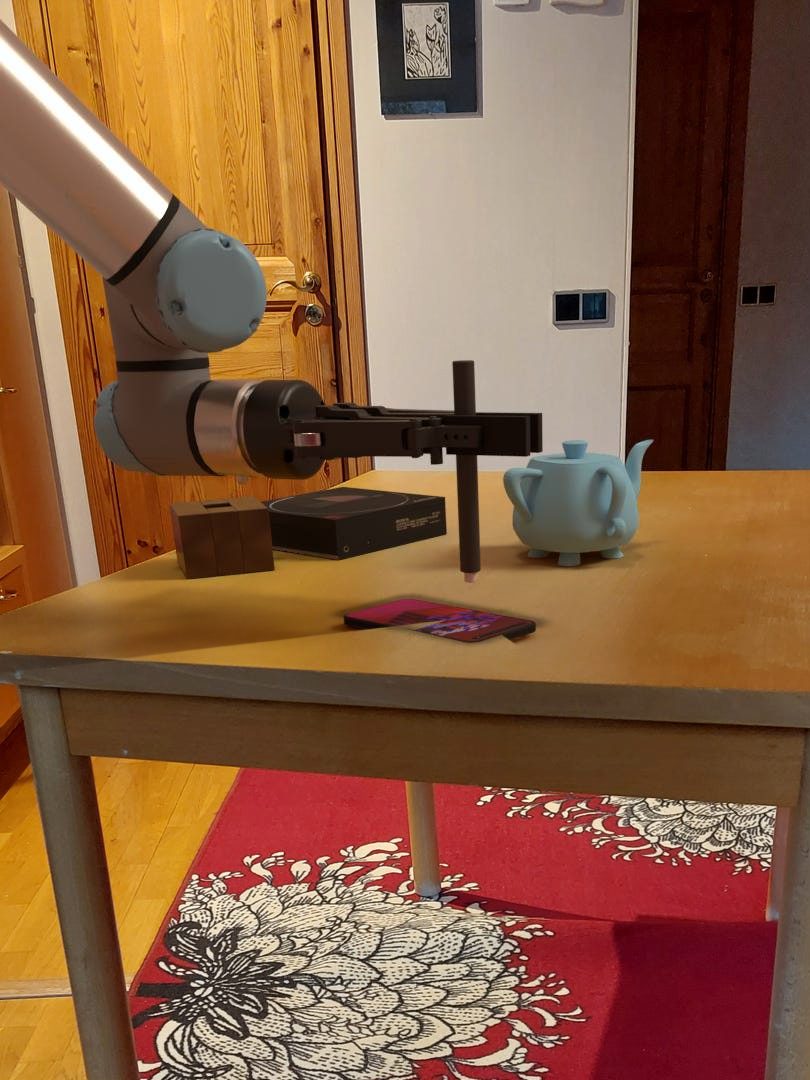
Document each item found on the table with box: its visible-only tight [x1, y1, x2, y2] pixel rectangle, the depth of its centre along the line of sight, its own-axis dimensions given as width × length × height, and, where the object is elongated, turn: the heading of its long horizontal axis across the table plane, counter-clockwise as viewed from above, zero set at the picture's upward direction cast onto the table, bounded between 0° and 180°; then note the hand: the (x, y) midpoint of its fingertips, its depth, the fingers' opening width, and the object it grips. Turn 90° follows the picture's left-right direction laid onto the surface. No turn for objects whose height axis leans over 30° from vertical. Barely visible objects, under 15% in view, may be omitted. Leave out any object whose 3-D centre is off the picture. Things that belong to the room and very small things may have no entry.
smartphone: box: [343, 598, 537, 644], centre depth 92 cm, size 8×1×15 cm
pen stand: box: [168, 495, 276, 580], centre depth 117 cm, size 9×9×6 cm
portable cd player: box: [260, 486, 448, 561], centre depth 129 cm, size 16×17×4 cm
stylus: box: [451, 359, 482, 583], centre depth 88 cm, size 2×2×16 cm
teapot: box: [502, 439, 654, 567], centre depth 116 cm, size 13×14×11 cm
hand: (533, 434), depth 85 cm, fingers closed on stylus, 1 cm apart
